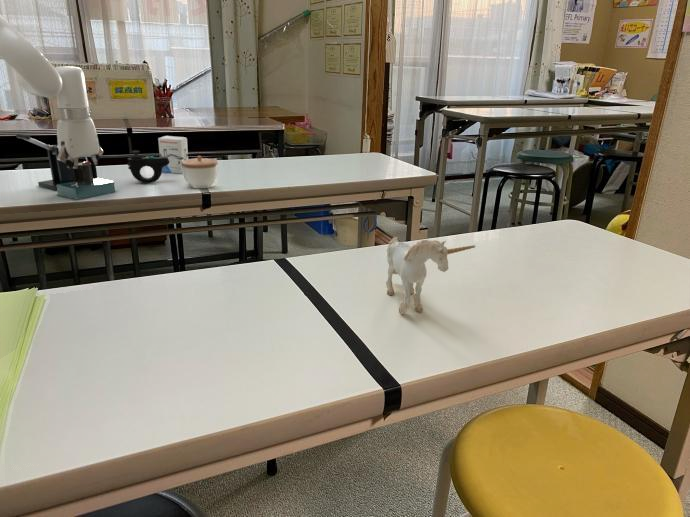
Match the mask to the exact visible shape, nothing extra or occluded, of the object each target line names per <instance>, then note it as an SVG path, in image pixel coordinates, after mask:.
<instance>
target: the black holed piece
mask: <svg viewBox="0 0 690 517" xmlns="http://www.w3.org/2000/svg"><path fill="white" fill-rule="evenodd" d="M132 153H133V155H131V156H130V157H128V158H127V161H128V163H127V166H128V167H127V168H128V170H130V173H131V175H132V177H133V178H134V179H135V180H137V181H138V182H140V183H143V184H152V183H155V182H156V181H158V180H159V179H160V178H161V176H162V173H163V172H162V168H163V167H164V166H166V165H168V164H169V162H170V161H169V159H168V157H160V156H152V155H151V156H149V155H145V156H142V155H140V150H132ZM144 167H149V168H151V169H152V171H153V174H152V175H151V176H150V177H145V176H143V175H142V174H141V171H142V169H144Z"/></svg>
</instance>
